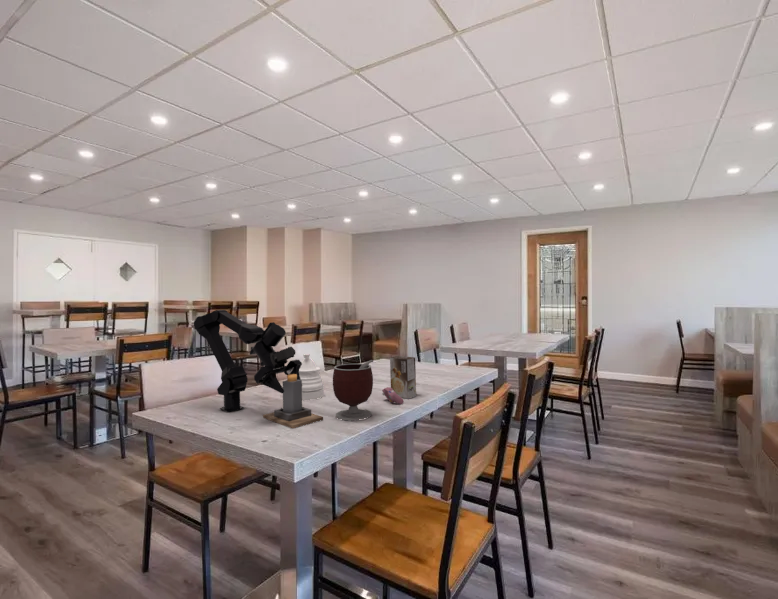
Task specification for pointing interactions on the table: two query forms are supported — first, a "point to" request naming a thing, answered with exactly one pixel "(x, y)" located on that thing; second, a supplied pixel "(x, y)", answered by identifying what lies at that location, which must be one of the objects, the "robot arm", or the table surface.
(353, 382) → the mate gourd
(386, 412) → the table surface
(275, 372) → the robot arm
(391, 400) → the pink oblong lump
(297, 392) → the connector plug
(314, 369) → the honey pot
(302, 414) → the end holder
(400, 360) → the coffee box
